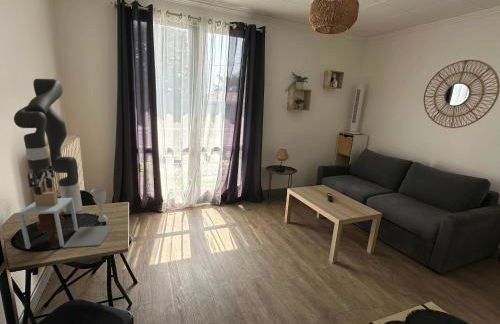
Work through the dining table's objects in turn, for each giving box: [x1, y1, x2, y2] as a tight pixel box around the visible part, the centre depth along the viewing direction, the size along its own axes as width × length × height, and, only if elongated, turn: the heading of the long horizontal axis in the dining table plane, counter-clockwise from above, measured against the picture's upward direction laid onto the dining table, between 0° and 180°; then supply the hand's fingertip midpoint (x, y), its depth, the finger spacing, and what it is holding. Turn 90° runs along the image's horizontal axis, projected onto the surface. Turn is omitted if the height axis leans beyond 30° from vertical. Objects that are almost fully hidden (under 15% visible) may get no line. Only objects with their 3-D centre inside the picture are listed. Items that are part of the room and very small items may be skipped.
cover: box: [17, 190, 79, 250], centre depth 120 cm, size 15×15×24 cm
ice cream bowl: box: [35, 212, 66, 243], centre depth 121 cm, size 11×11×15 cm
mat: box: [61, 224, 114, 249], centre depth 126 cm, size 18×16×1 cm
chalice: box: [90, 187, 109, 223], centre depth 139 cm, size 7×7×18 cm
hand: (44, 191), depth 116 cm, fingers open, 8 cm apart
